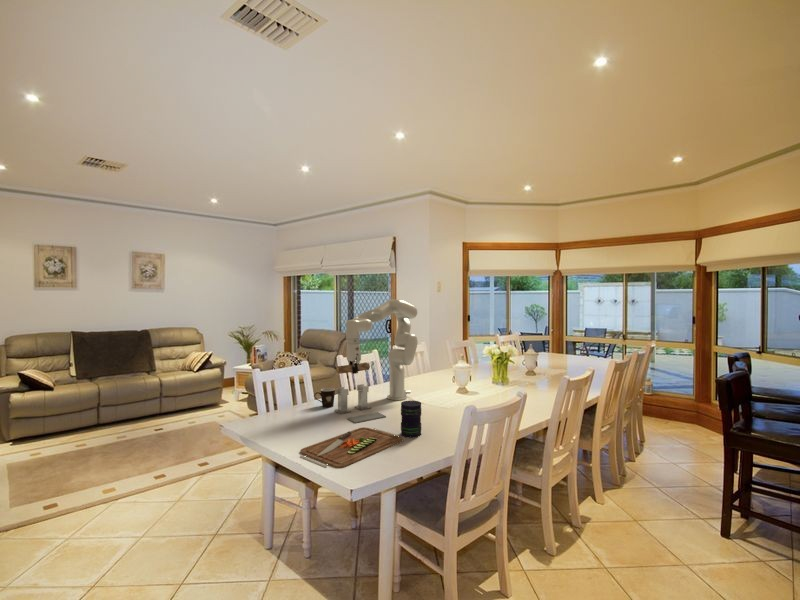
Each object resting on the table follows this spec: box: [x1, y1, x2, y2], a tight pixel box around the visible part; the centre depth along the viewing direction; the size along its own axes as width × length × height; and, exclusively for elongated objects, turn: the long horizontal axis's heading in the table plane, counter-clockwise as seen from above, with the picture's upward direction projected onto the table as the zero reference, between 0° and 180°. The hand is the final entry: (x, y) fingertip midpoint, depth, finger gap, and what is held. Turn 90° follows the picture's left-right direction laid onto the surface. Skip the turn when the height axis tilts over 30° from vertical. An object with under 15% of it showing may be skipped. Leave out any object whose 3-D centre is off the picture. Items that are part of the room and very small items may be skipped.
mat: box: [346, 411, 387, 424], centre depth 221 cm, size 19×9×1 cm, turn 124°
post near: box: [334, 386, 352, 415], centre depth 232 cm, size 7×7×13 cm
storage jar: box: [400, 400, 422, 439], centre depth 195 cm, size 10×10×15 cm
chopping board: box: [299, 427, 404, 469], centre depth 180 cm, size 45×27×3 cm, turn 141°
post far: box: [354, 383, 372, 411], centre depth 240 cm, size 7×7×13 cm
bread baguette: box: [335, 362, 371, 374], centre depth 236 cm, size 20×4×4 cm, turn 124°
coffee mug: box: [313, 387, 336, 409], centre depth 244 cm, size 12×9×10 cm
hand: (353, 372), depth 236 cm, fingers closed on bread baguette, 3 cm apart
